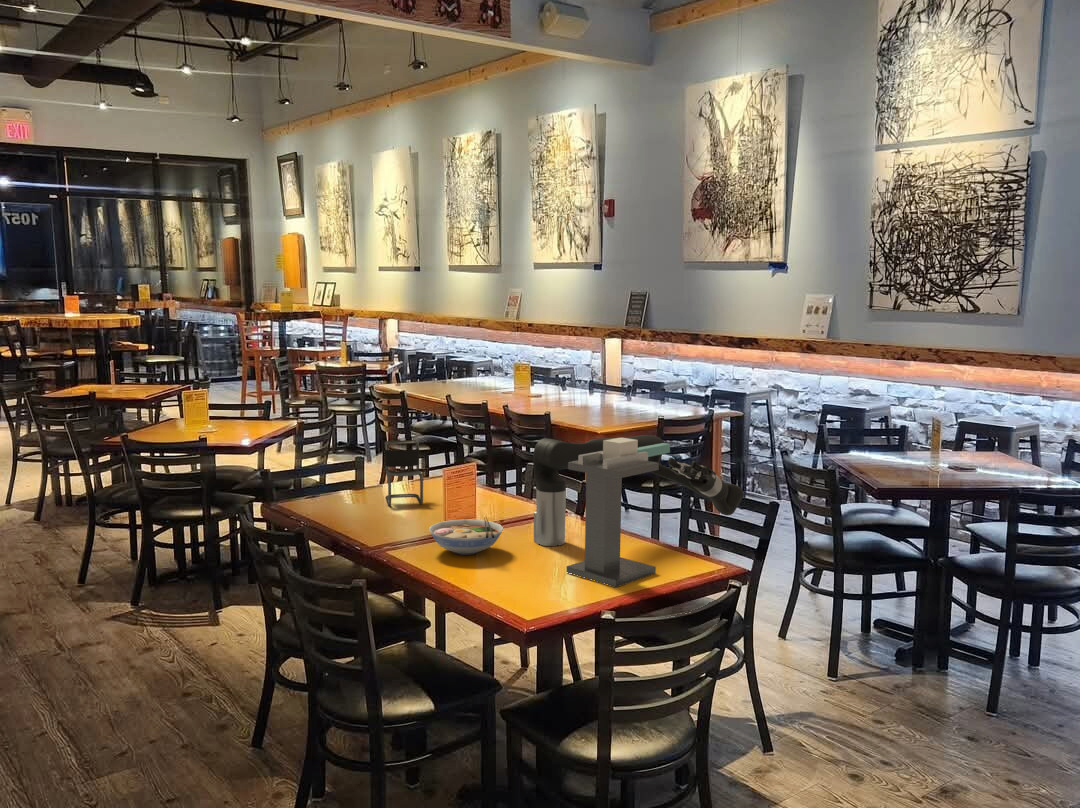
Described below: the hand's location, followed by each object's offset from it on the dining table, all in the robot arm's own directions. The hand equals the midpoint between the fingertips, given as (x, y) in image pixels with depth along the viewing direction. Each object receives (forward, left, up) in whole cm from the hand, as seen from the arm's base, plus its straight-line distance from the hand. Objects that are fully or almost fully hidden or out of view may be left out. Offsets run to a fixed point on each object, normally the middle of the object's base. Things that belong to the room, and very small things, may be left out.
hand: (680, 462), depth 281 cm
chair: (-112, -20, -28) cm, 117 cm away
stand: (0, -33, -28) cm, 43 cm away
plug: (0, -22, +4) cm, 22 cm away
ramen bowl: (-45, -48, -28) cm, 71 cm away
